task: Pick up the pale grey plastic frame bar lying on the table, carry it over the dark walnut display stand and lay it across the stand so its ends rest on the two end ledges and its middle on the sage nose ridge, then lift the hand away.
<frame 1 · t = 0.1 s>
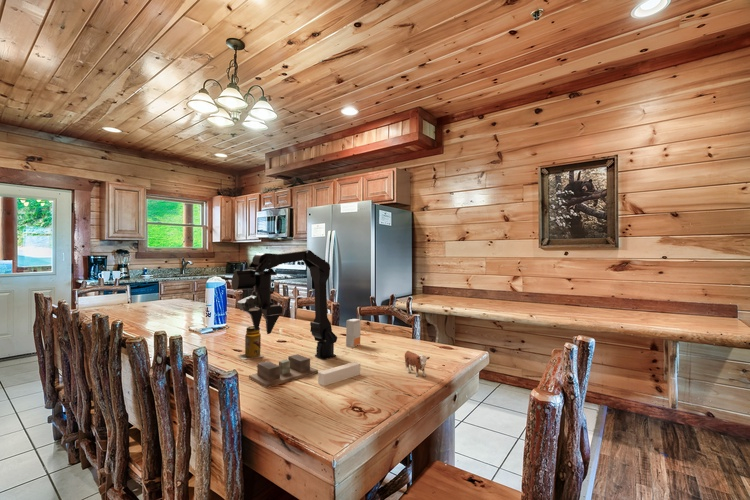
hand: (262, 331, 124), 15 cm above the table, tool pointing down, fingers open, 9 cm apart
condiment: (250, 356, 144), on the table
display stand: (284, 375, 121), on the table
skincare box: (353, 345, 162), on the table
bull figurine: (416, 375, 123), on the table
frame bar: (340, 379, 119), on the table
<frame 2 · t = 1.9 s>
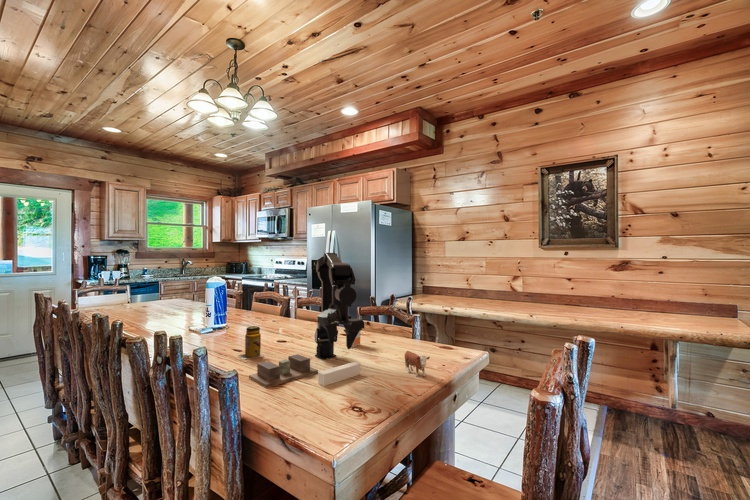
hand: (340, 346, 119), 11 cm above the table, tool pointing down, fingers open, 9 cm apart
nothing on the table moved.
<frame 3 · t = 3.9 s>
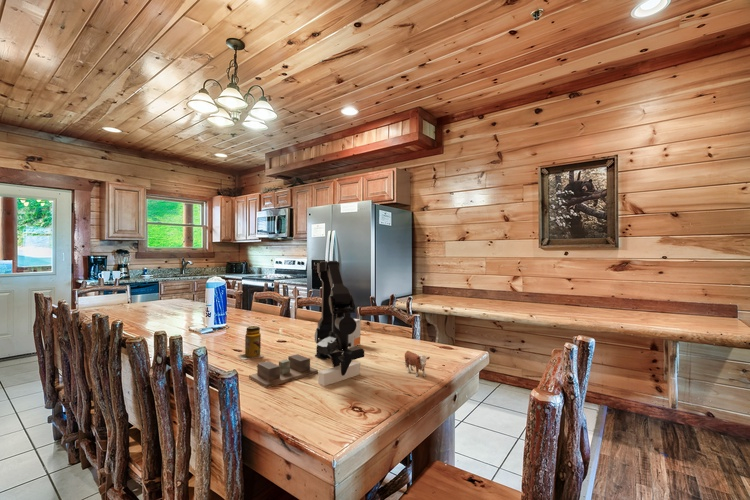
hand: (340, 374, 119), 2 cm above the table, tool pointing down, fingers closed on frame bar, 3 cm apart
frame bar: (340, 378, 118), on the table, touching gripper
everything else where it was.
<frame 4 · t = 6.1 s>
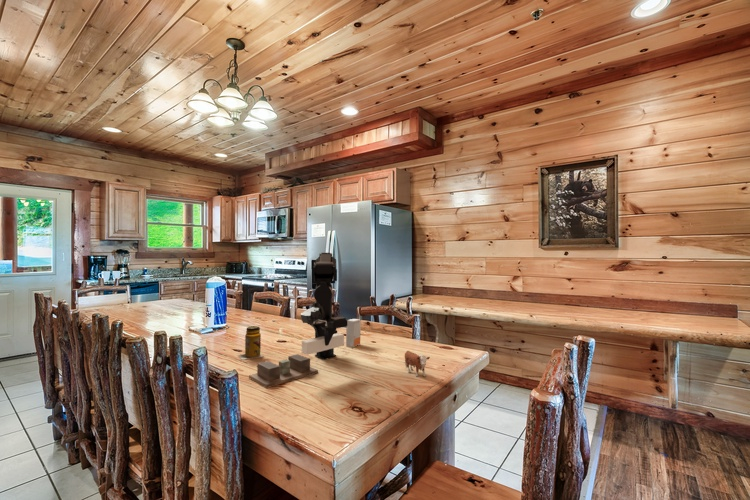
hand: (323, 344, 120), 11 cm above the table, tool pointing down, fingers closed on frame bar, 3 cm apart
frame bar: (323, 349, 120), point 10 cm above the table, touching gripper
everything else where it was.
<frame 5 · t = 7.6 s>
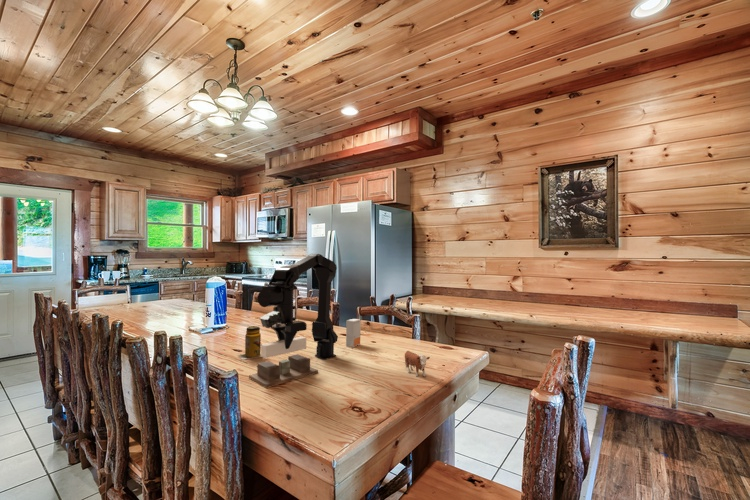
hand: (284, 347, 121), 10 cm above the table, tool pointing down, fingers closed on frame bar, 3 cm apart
frame bar: (284, 352, 121), point 8 cm above the table, touching gripper
everything else where it was.
when the fingers open (8 cm above the table, at t = 8.5 s): frame bar drops 1 cm, resting on display stand.
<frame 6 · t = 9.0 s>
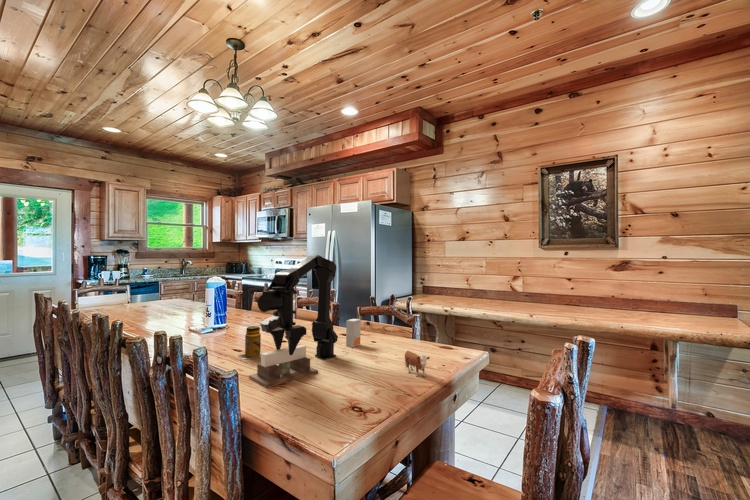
hand: (284, 352, 121), 8 cm above the table, tool pointing down, fingers open, 8 cm apart
frame bar: (284, 361, 121), point 5 cm above the table, touching display stand
everything else where it was.
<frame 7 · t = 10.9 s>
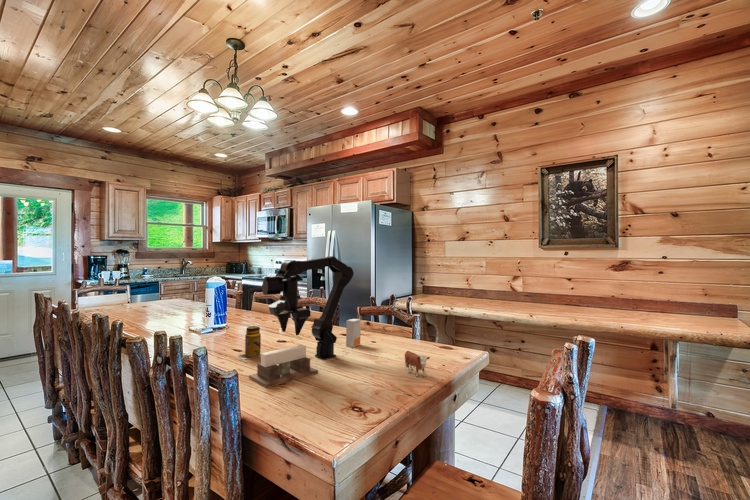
hand: (290, 333, 134), 12 cm above the table, tool pointing down, fingers open, 9 cm apart
nothing on the table moved.
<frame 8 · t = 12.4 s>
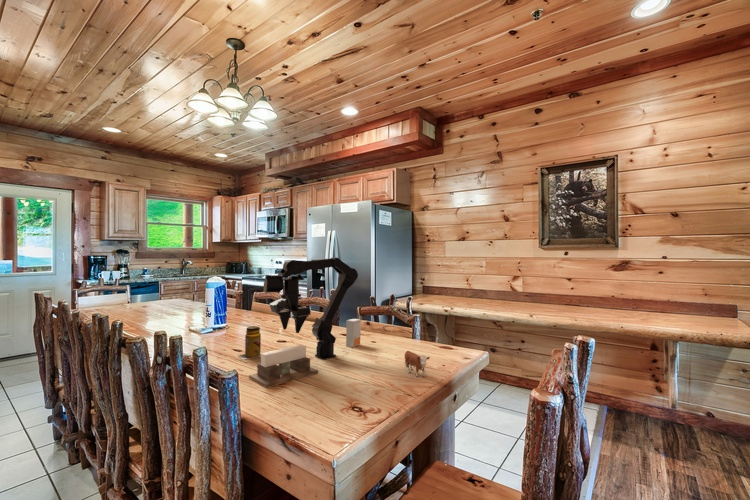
hand: (291, 331, 137), 12 cm above the table, tool pointing down, fingers open, 9 cm apart
nothing on the table moved.
at the end: frame bar 0.1 cm off-centre on the display stand, point 5.0 cm above the display stand's base; frame bar tilted 0°; the gripper is holding nothing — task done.
